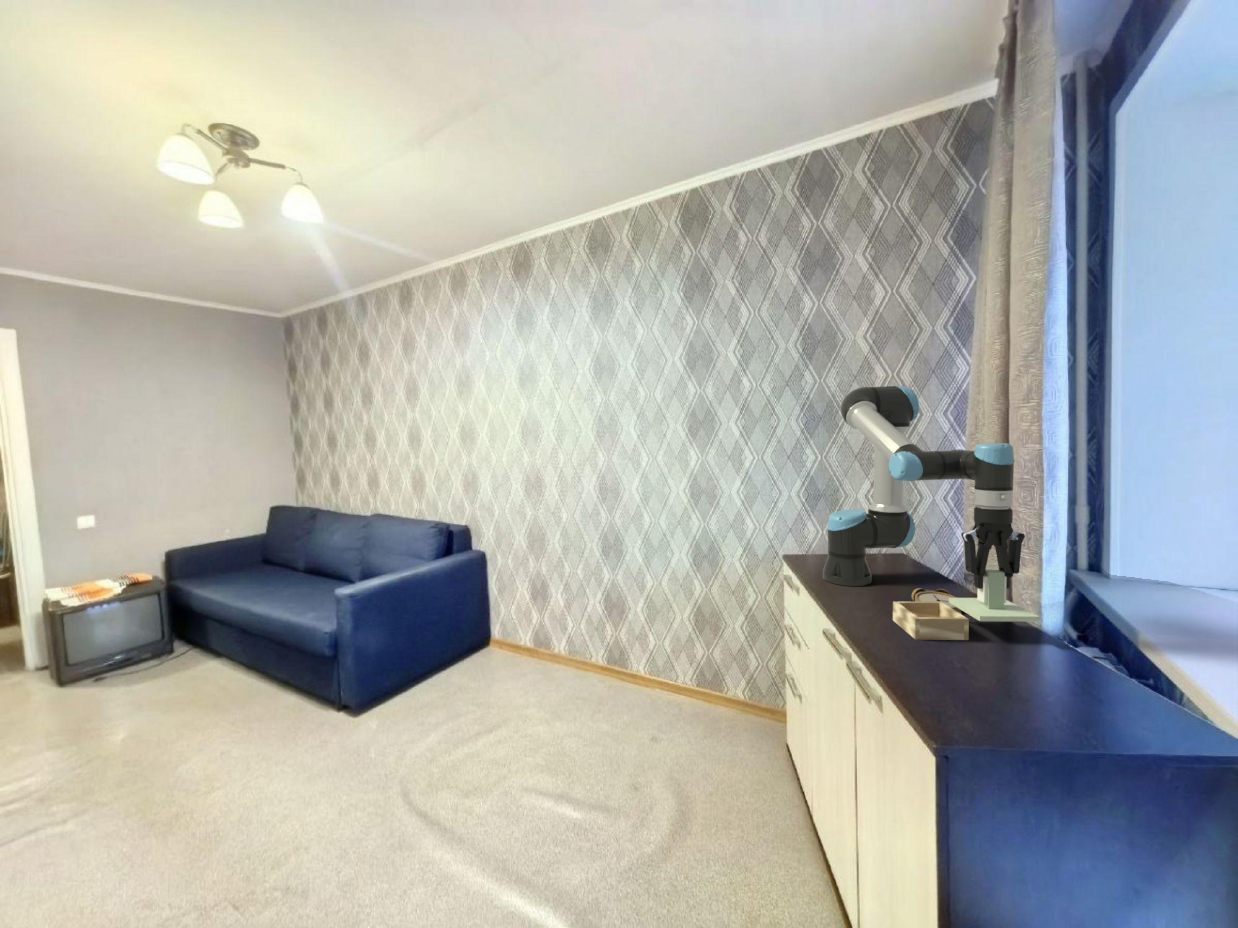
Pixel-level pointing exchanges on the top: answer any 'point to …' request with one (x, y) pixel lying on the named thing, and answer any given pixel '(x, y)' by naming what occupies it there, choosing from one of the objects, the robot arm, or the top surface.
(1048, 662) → the top surface
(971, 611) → the lid
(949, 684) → the top surface
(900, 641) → the top surface
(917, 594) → the alarm clock
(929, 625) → the box
